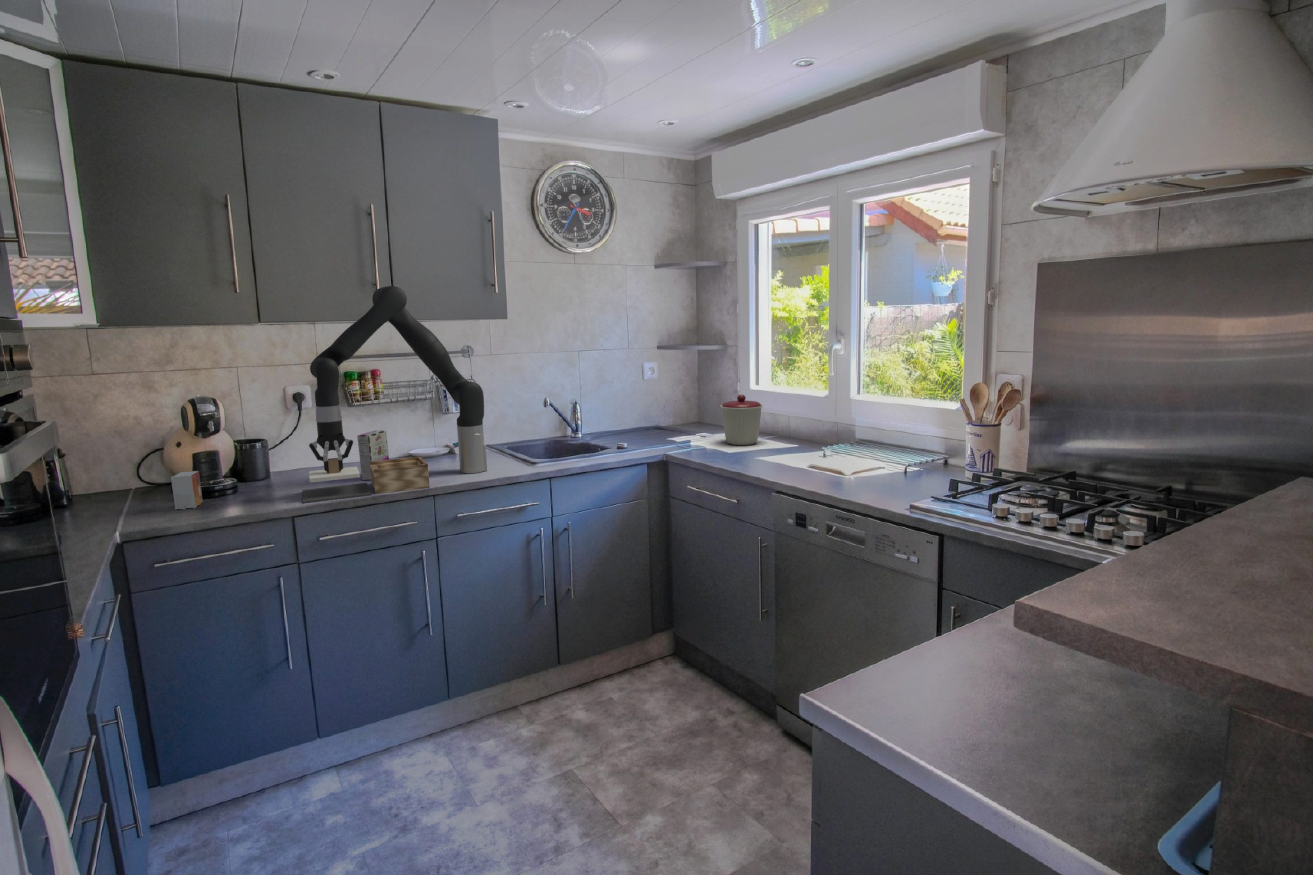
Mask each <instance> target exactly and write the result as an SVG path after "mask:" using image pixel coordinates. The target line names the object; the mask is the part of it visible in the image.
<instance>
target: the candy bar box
mask: <svg viewBox="0 0 1313 875" xmlns="http://www.w3.org/2000/svg"><path fill="white" fill-rule="evenodd" d="M356 439H357V443H358V444H357V445H358V455H359V463H360V473H361V479H362V481H371V472H370V462H372V461H381V460H390V457H389V456H390V455H389V447H388V439H387V430H385V429H378V430H377V429H375V430H372V431H367V432H365V433H361V434H357V438H356Z"/></svg>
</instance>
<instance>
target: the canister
mask: <svg viewBox="0 0 1313 875" xmlns="http://www.w3.org/2000/svg"><path fill="white" fill-rule="evenodd" d="M736 398H737V399H736V400H730V401H725V402H723V403H722V404H720V406H719V407H720V408H721V413H722V414H721V415H722V422H723V430H724V431H723V432H724V437H725V441H726V442H727V443H728V444H729V445H733V446H751V445H754V444H756V443H757V441H758V440H759V435H760V434H759V432H760V425H761V414H762V408H763V407H764V405H763V404H761V403H760V402H758V401H756V400H755V401H754V400H746V395H744V394H738V395H737V397H736Z"/></svg>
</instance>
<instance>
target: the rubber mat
mask: <svg viewBox="0 0 1313 875" xmlns="http://www.w3.org/2000/svg"><path fill="white" fill-rule="evenodd" d="M367 496H372V492H371V490H370V488H369V485H368V483H367V482H359V483H353V484H352V483H351V484H344V485H334V486H326V487H325V486H324V487H316V488H309V489H302V504H309V503H318V502H324V501H326V502H327V501H334V500H333V499H335V500H342V499H350V498H351V499H352V498H358V497H367Z"/></svg>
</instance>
